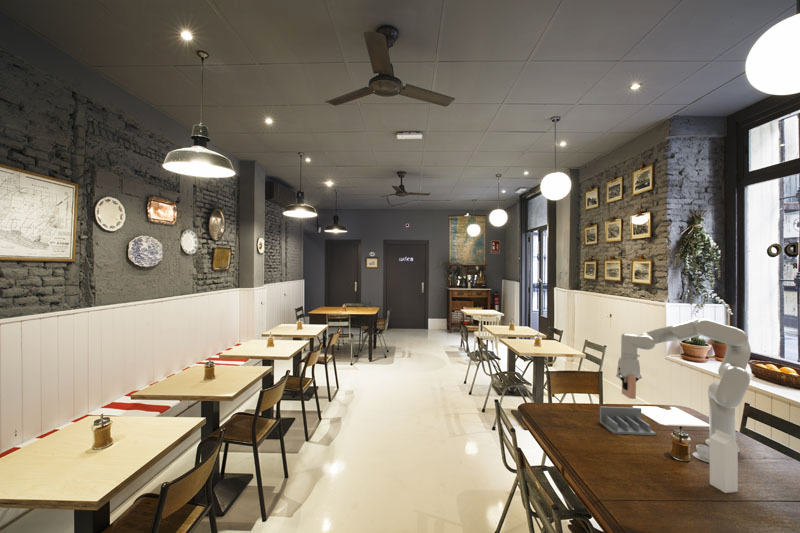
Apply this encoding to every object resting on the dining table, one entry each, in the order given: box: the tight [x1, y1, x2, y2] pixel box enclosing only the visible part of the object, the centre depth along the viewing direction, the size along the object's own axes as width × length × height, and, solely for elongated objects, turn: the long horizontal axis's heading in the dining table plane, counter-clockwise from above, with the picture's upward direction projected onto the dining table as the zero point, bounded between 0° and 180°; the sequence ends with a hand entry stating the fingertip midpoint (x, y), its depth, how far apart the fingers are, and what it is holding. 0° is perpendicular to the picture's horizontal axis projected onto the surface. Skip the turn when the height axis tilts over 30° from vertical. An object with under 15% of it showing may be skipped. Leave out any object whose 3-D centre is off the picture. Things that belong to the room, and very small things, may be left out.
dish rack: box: [599, 405, 657, 436], centre depth 194 cm, size 14×22×9 cm, turn 86°
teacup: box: [691, 444, 710, 463], centre depth 163 cm, size 10×10×5 cm
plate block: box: [621, 375, 637, 400], centre depth 194 cm, size 8×3×12 cm, turn 175°
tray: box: [632, 405, 709, 428], centre depth 212 cm, size 28×28×2 cm
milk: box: [709, 429, 739, 494], centre depth 141 cm, size 6×6×22 cm
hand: (628, 389), depth 194 cm, fingers closed on plate block, 3 cm apart
